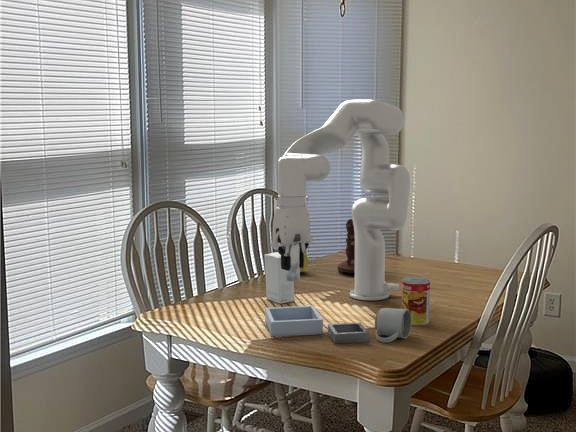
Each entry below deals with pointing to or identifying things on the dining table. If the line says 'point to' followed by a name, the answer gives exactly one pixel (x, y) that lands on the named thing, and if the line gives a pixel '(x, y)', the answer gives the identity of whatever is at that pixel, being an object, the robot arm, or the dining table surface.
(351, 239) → the brown carved statue
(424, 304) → the canned food
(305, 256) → the apple
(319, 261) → the dining table surface
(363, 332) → the socket collar
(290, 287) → the skincare box
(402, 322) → the ceramic mug
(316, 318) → the bin
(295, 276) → the black capped silver cylinder
